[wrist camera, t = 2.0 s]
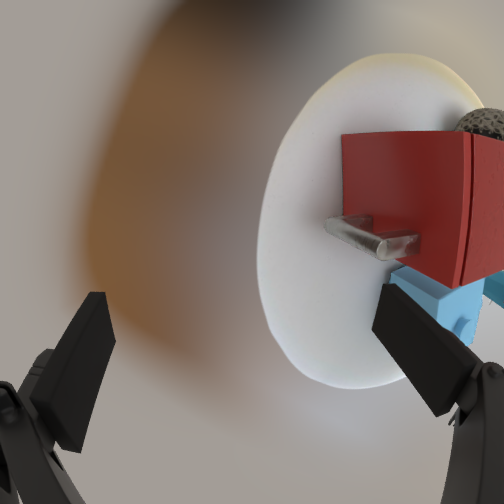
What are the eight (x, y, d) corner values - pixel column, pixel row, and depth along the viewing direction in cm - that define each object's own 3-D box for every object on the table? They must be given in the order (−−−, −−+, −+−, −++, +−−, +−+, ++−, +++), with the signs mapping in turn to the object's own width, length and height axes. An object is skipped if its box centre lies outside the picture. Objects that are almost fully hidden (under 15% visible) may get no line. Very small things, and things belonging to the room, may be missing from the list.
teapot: (369, 274, 39) (434, 316, 27) (443, 243, 42) (504, 269, 30) (369, 369, 46) (414, 417, 34) (435, 332, 48) (481, 367, 36)
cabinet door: (306, 238, 35) (409, 304, 19) (303, 133, 31) (419, 122, 15) (349, 233, 36) (458, 287, 20) (348, 134, 33) (470, 132, 16)
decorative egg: (438, 99, 35) (520, 95, 21) (478, 121, 38) (548, 125, 24) (434, 173, 38) (518, 189, 24) (474, 185, 41) (544, 202, 27)
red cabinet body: (350, 232, 37) (461, 287, 20) (349, 135, 33) (473, 133, 16) (407, 225, 39) (512, 266, 22) (409, 139, 35) (522, 147, 18)
